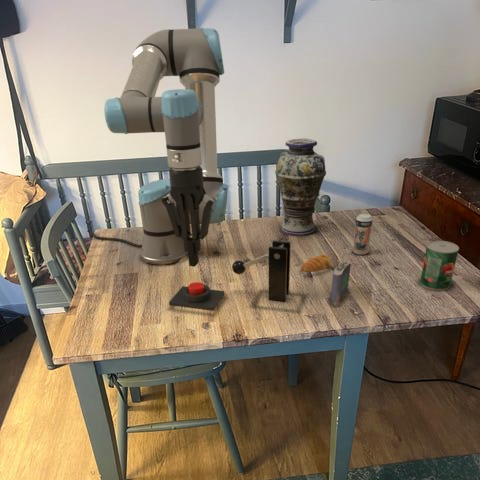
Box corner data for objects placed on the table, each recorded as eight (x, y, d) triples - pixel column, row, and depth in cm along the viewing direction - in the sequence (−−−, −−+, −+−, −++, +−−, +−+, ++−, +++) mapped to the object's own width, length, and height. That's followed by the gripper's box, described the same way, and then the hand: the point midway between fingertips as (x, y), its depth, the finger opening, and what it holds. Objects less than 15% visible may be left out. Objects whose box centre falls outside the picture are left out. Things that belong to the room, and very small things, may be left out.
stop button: (186, 294, 119) (186, 288, 118) (192, 287, 122) (191, 281, 121) (201, 296, 118) (200, 290, 117) (206, 288, 121) (206, 283, 120)
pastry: (311, 278, 132) (312, 266, 130) (294, 271, 137) (295, 259, 135) (333, 269, 137) (334, 257, 135) (317, 262, 142) (317, 250, 140)
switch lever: (234, 278, 120) (227, 266, 119) (238, 272, 123) (232, 260, 122) (286, 258, 113) (279, 246, 112) (289, 253, 116) (283, 240, 115)
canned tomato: (451, 291, 123) (460, 253, 117) (420, 288, 125) (427, 250, 119) (449, 278, 129) (457, 241, 124) (419, 276, 131) (426, 239, 126)
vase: (310, 242, 155) (315, 148, 139) (265, 233, 163) (265, 143, 148) (330, 226, 167) (336, 138, 151) (287, 219, 175) (289, 134, 159)
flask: (338, 306, 118) (341, 268, 113) (327, 304, 119) (329, 266, 114) (349, 291, 125) (352, 254, 119) (338, 289, 126) (341, 252, 121)
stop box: (169, 309, 120) (168, 295, 118) (183, 293, 127) (182, 280, 125) (213, 315, 117) (212, 301, 115) (224, 298, 124) (224, 284, 122)
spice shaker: (351, 254, 146) (355, 217, 139) (354, 248, 149) (357, 212, 143) (366, 256, 144) (371, 219, 138) (369, 250, 148) (373, 214, 141)
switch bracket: (252, 306, 120) (251, 249, 111) (261, 290, 127) (260, 236, 119) (298, 312, 116) (300, 254, 108) (304, 295, 124) (307, 239, 115)
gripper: (151, 169, 102) (163, 267, 114) (206, 172, 99) (213, 272, 111) (165, 162, 108) (176, 255, 120) (218, 164, 105) (223, 260, 117)
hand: (194, 263), depth 116 cm, fingers closed
